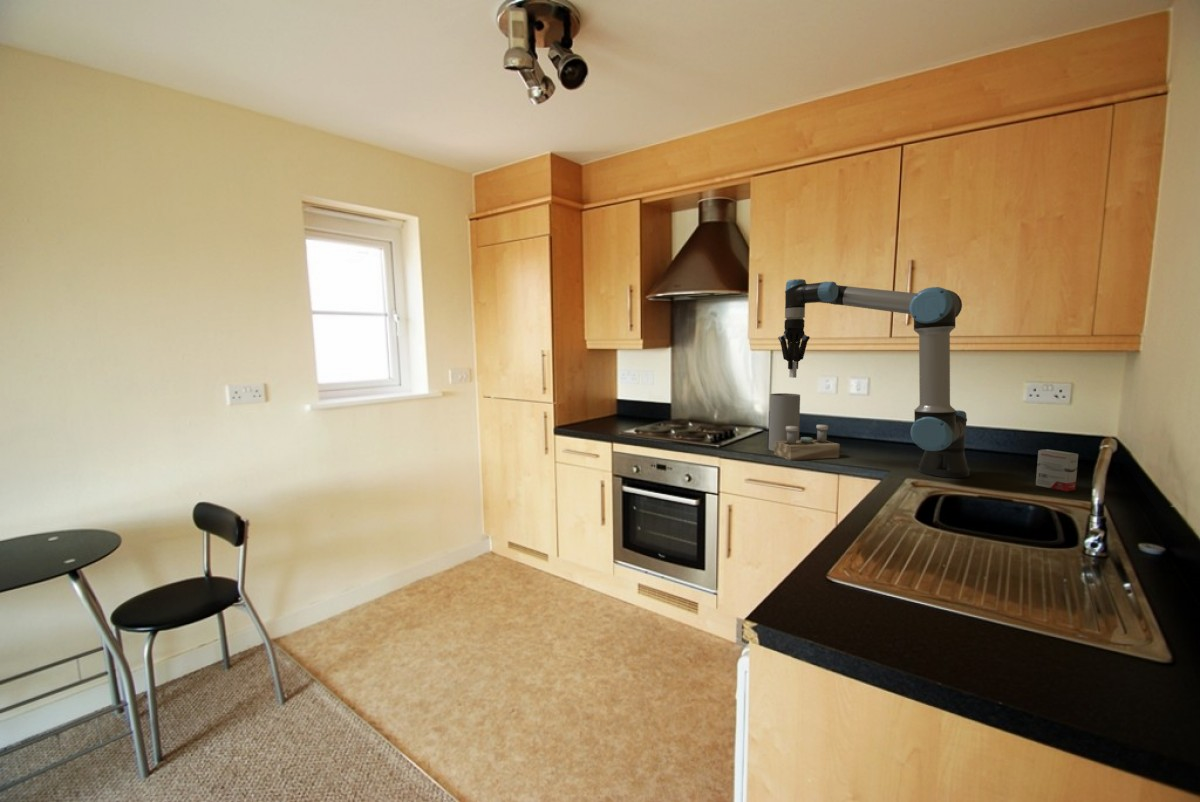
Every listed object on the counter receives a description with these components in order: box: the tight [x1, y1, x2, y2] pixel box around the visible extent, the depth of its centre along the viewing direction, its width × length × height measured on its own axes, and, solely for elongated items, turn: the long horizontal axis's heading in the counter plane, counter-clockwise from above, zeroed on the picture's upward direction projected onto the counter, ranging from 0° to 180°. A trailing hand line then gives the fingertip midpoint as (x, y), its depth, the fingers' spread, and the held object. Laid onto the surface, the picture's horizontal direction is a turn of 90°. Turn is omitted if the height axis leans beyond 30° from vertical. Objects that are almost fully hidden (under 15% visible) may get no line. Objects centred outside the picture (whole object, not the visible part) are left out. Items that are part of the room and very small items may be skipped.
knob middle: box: [800, 436, 813, 444], centre depth 211 cm, size 5×5×8 cm
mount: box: [773, 438, 841, 461], centre depth 211 cm, size 12×22×6 cm, turn 101°
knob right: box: [815, 424, 829, 443], centre depth 211 cm, size 5×5×8 cm
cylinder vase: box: [768, 392, 801, 452], centre depth 223 cm, size 12×12×25 cm
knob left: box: [786, 426, 798, 445], centre depth 209 cm, size 5×5×8 cm
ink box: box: [1035, 449, 1079, 492], centre depth 161 cm, size 8×5×12 cm, turn 23°
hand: (792, 377), depth 206 cm, fingers closed
